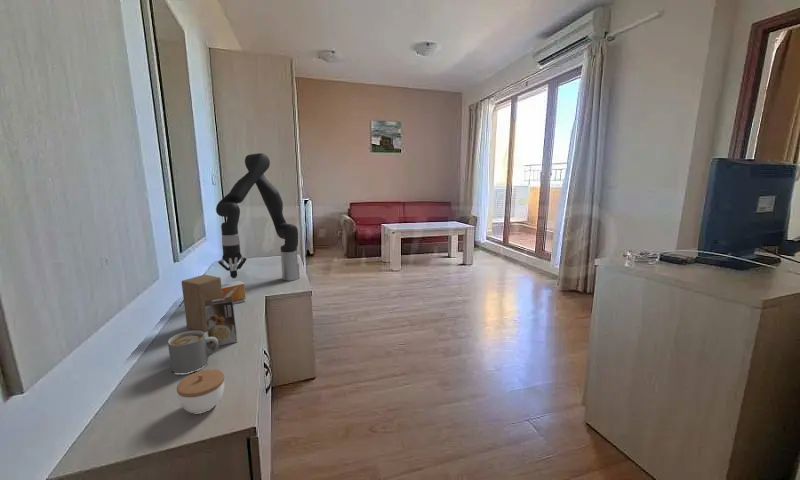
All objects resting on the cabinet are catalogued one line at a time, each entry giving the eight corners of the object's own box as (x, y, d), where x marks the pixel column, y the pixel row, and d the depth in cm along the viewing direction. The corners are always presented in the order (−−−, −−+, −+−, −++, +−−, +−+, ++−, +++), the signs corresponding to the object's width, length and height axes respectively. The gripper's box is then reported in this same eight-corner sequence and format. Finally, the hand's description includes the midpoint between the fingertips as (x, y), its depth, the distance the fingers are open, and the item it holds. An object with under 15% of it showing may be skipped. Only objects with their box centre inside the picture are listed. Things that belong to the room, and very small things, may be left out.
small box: (246, 298, 164) (217, 305, 155) (241, 295, 168) (213, 302, 159) (244, 283, 162) (215, 289, 153) (240, 280, 167) (211, 286, 158)
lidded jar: (233, 393, 93) (230, 363, 91) (213, 421, 83) (210, 387, 81) (195, 394, 93) (191, 363, 91) (170, 421, 82) (165, 388, 81)
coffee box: (236, 335, 127) (233, 295, 124) (237, 342, 122) (233, 301, 119) (209, 340, 123) (205, 299, 120) (208, 348, 117) (204, 305, 114)
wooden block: (225, 323, 138) (221, 277, 134) (202, 333, 129) (197, 284, 125) (209, 318, 142) (204, 274, 138) (186, 328, 133) (180, 280, 129)
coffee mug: (168, 378, 100) (164, 348, 98) (175, 361, 109) (171, 333, 107) (218, 368, 105) (215, 339, 103) (220, 353, 114) (218, 326, 112)
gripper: (243, 240, 166) (246, 273, 169) (214, 243, 158) (217, 278, 161) (247, 243, 160) (250, 277, 163) (217, 246, 152) (220, 282, 155)
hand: (233, 277), depth 162 cm, fingers closed
